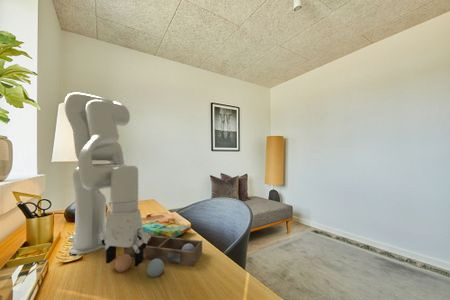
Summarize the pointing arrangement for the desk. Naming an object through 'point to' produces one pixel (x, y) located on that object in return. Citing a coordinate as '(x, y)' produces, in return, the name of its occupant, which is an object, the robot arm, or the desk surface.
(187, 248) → the blue-grey ball
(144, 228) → the puzzle game
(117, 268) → the terracotta ball
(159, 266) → the slate ball
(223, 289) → the desk surface
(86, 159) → the robot arm
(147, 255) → the divided wooden box
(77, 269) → the desk surface
